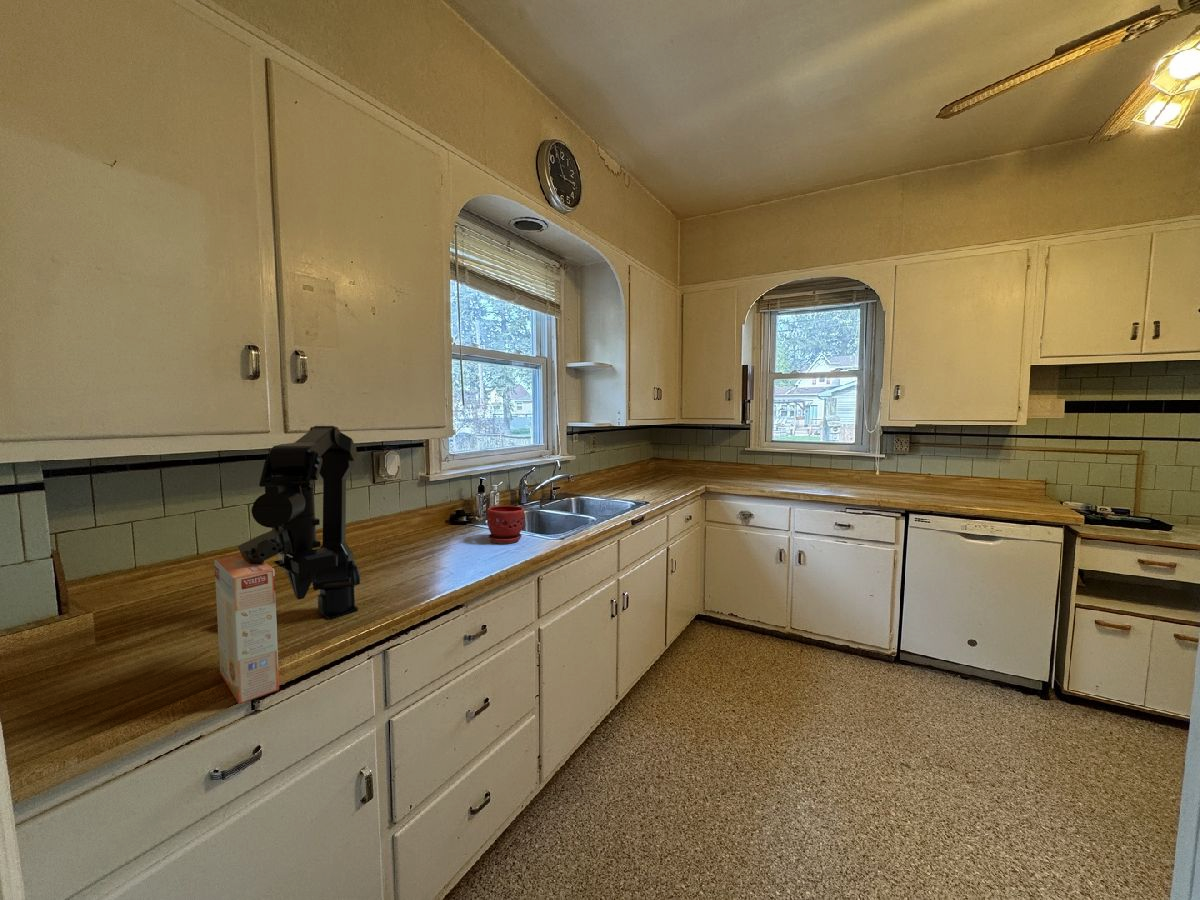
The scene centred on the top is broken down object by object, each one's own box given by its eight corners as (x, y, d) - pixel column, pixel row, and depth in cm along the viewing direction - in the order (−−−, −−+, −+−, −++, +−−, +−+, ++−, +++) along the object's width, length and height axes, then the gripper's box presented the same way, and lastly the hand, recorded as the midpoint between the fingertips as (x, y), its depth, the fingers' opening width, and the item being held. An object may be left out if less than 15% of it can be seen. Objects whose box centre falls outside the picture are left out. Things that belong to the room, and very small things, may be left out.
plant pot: (515, 546, 162) (515, 512, 161) (480, 544, 165) (480, 510, 164) (530, 537, 175) (529, 505, 174) (497, 534, 178) (497, 503, 177)
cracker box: (282, 690, 78) (276, 567, 77) (237, 707, 74) (229, 577, 72) (260, 660, 88) (254, 550, 86) (219, 673, 83) (211, 558, 82)
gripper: (225, 515, 84) (230, 599, 86) (262, 531, 73) (267, 628, 74) (295, 505, 93) (298, 582, 94) (337, 519, 82) (341, 606, 83)
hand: (300, 598), depth 86 cm, fingers closed
